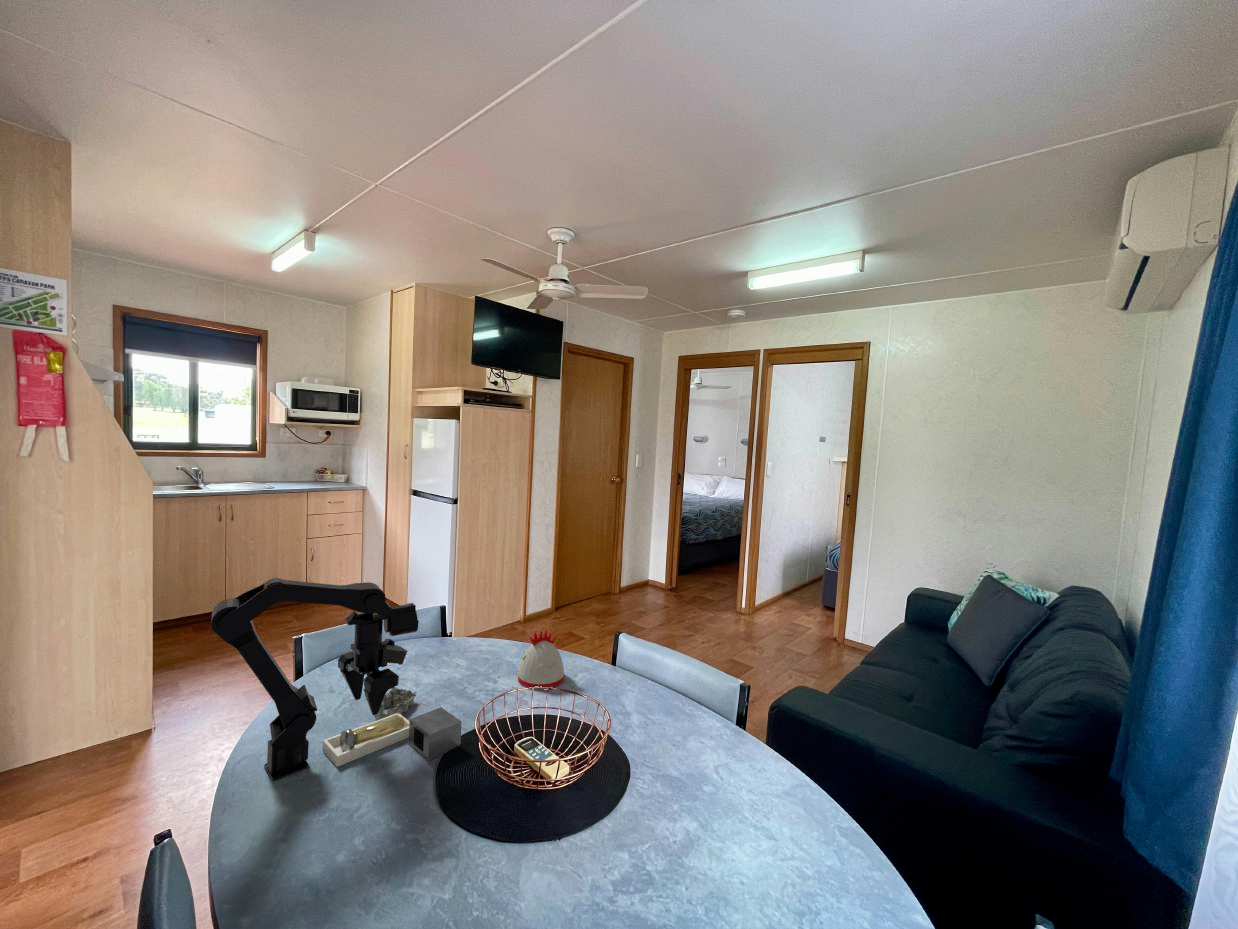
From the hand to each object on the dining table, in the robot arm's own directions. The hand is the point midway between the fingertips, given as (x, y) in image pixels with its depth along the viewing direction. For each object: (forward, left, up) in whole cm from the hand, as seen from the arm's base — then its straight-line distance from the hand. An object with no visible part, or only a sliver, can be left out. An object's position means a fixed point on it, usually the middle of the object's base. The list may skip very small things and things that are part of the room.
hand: (366, 706), depth 116 cm
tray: (+1, 0, -9) cm, 9 cm away
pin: (+2, 0, -9) cm, 9 cm away
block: (+11, -11, -9) cm, 18 cm away
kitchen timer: (+51, -2, -9) cm, 52 cm away
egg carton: (+12, +10, -9) cm, 18 cm away
